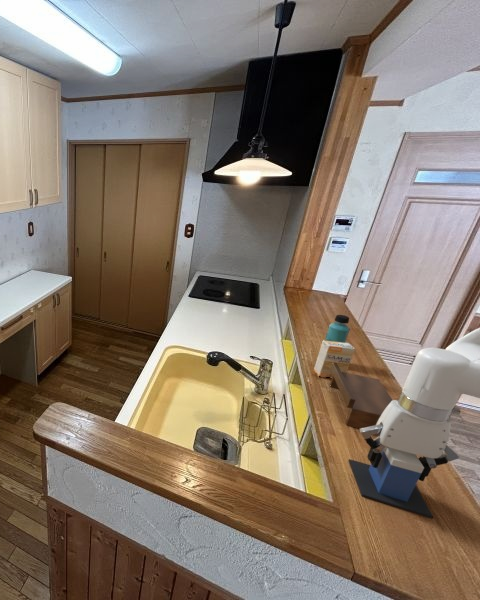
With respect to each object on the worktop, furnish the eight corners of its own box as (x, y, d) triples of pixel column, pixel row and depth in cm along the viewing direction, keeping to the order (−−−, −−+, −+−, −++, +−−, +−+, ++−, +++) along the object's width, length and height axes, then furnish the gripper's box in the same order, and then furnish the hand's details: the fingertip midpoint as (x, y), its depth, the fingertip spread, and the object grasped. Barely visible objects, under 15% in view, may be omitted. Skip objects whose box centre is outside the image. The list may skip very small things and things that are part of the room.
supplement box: (318, 377, 117) (328, 345, 112) (313, 370, 121) (322, 339, 117) (344, 380, 115) (355, 348, 111) (338, 373, 120) (348, 342, 115)
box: (394, 477, 77) (409, 444, 74) (407, 502, 71) (424, 467, 68) (368, 469, 79) (381, 437, 76) (378, 493, 73) (393, 459, 70)
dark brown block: (372, 394, 108) (381, 371, 105) (399, 438, 89) (411, 412, 86) (325, 384, 113) (332, 362, 110) (341, 424, 95) (350, 398, 92)
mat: (409, 478, 77) (410, 476, 77) (432, 518, 68) (433, 516, 68) (348, 460, 82) (348, 458, 82) (361, 496, 73) (362, 494, 73)
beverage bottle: (337, 360, 128) (352, 314, 121) (340, 368, 123) (355, 320, 116) (317, 356, 131) (331, 311, 124) (319, 364, 126) (333, 317, 119)
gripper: (470, 406, 67) (437, 470, 73) (365, 385, 74) (343, 445, 80) (494, 430, 60) (456, 498, 67) (376, 404, 68) (351, 468, 74)
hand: (394, 469), depth 73 cm, fingers open, 7 cm apart
